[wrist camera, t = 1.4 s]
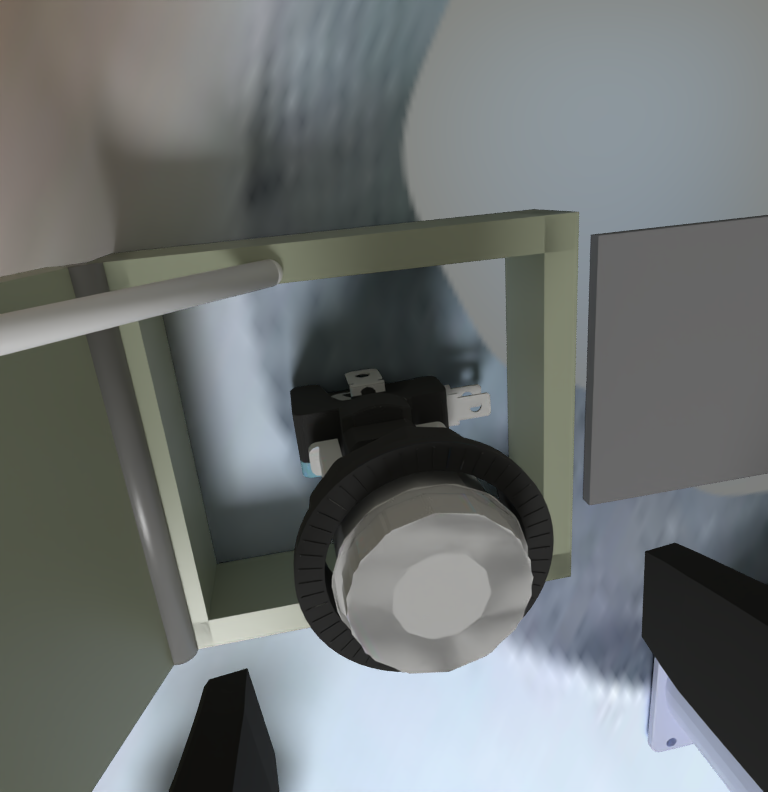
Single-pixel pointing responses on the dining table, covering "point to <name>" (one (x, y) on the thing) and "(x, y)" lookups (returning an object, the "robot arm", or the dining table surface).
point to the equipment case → (176, 472)
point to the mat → (676, 358)
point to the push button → (412, 526)
